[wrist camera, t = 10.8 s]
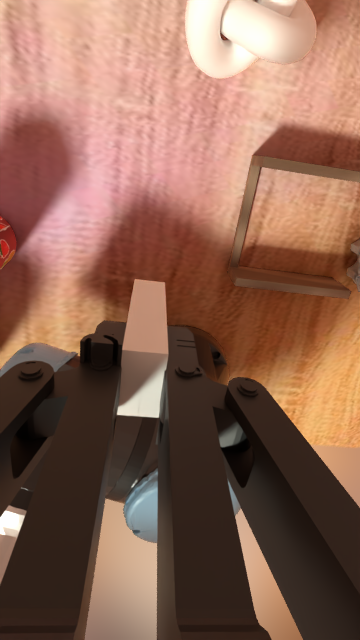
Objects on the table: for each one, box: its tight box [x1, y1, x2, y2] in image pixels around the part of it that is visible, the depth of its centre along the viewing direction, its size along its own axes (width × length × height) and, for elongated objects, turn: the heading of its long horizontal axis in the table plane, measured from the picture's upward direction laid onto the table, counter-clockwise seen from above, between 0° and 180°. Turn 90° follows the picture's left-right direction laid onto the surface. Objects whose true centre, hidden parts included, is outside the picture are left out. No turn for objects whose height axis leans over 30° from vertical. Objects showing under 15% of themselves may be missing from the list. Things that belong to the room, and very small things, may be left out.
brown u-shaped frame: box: [227, 155, 360, 299], centre depth 40 cm, size 14×14×5 cm
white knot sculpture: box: [185, 0, 317, 79], centre depth 29 cm, size 11×12×9 cm
